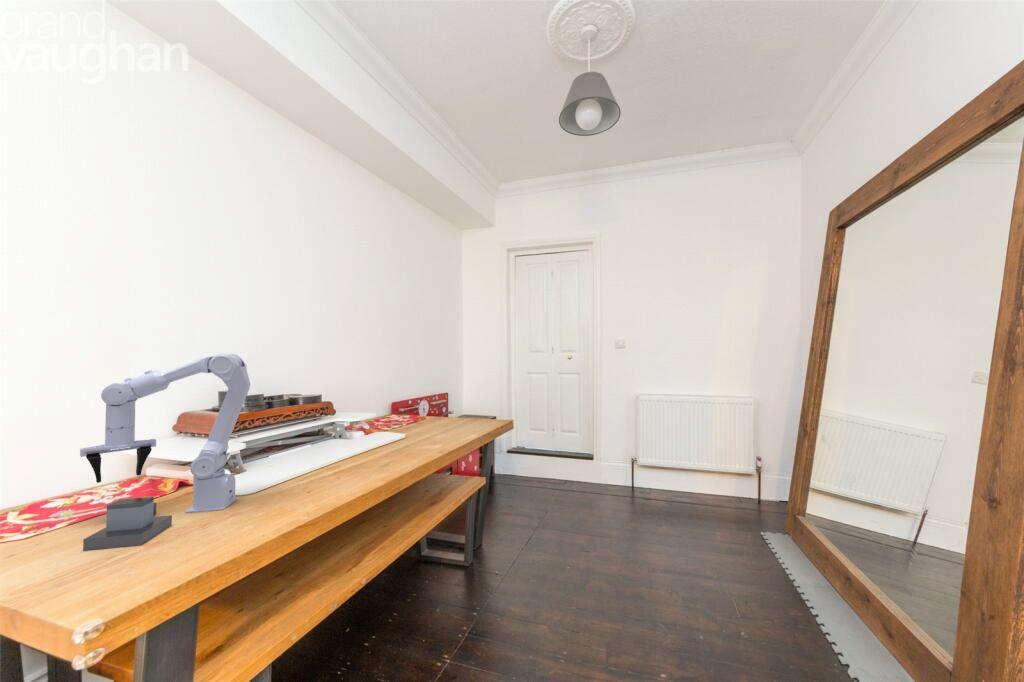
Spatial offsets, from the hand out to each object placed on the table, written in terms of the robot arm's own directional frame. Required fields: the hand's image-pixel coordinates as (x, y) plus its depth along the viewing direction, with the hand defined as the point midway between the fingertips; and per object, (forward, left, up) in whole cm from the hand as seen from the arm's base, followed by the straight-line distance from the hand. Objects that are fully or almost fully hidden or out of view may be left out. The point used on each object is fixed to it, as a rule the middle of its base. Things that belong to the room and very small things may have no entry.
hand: (119, 478), depth 107 cm
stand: (-12, +15, -10) cm, 22 cm away
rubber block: (-7, +1, -11) cm, 13 cm away
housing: (-12, +15, -8) cm, 21 cm away
